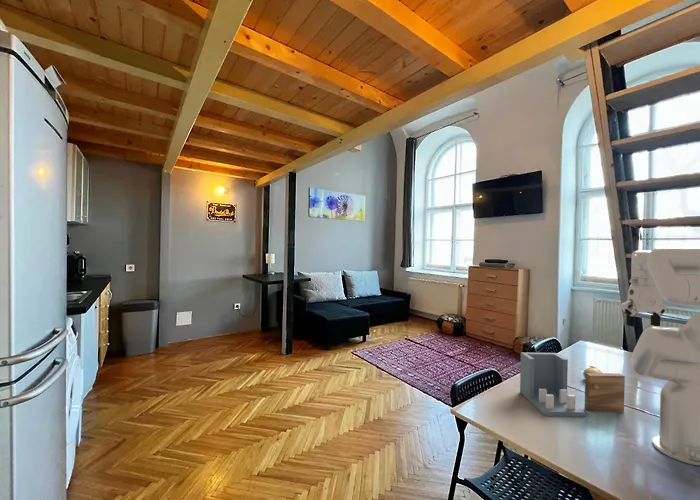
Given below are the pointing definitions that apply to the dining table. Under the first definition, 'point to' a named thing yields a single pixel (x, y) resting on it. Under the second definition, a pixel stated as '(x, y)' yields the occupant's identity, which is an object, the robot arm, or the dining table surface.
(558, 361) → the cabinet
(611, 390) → the door
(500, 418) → the dining table surface
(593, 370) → the onion
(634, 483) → the dining table surface
